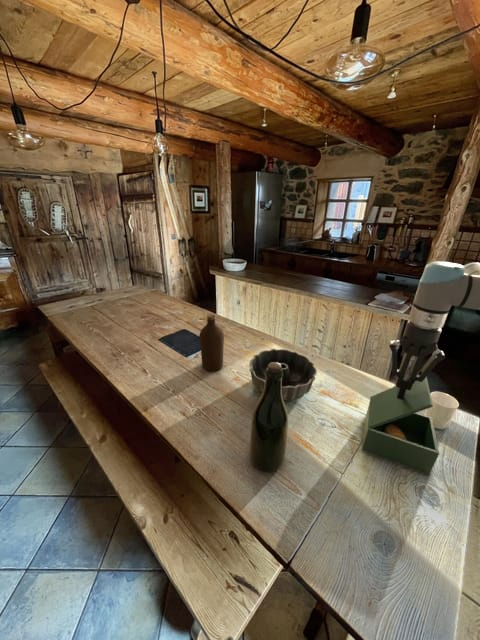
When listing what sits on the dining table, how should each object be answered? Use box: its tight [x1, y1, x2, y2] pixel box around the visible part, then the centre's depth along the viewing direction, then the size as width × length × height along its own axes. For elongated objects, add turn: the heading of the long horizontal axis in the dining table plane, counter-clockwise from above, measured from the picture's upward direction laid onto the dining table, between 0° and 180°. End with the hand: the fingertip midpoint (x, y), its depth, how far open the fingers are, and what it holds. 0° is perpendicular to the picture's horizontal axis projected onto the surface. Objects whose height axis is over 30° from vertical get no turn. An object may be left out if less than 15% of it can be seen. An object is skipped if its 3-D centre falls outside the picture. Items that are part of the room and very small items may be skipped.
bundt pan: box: [249, 348, 318, 402], centre depth 107 cm, size 26×26×10 cm
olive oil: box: [198, 314, 225, 372], centre depth 116 cm, size 11×11×25 cm
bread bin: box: [361, 402, 440, 476], centre depth 82 cm, size 18×15×9 cm
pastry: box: [384, 424, 407, 441], centre depth 84 cm, size 9×7×4 cm
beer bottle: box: [249, 362, 289, 473], centre depth 72 cm, size 10×10×33 cm
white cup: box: [423, 391, 460, 430], centre depth 91 cm, size 8×8×10 cm
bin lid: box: [368, 377, 433, 429], centre depth 78 cm, size 18×15×1 cm
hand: (399, 396), depth 77 cm, fingers closed
